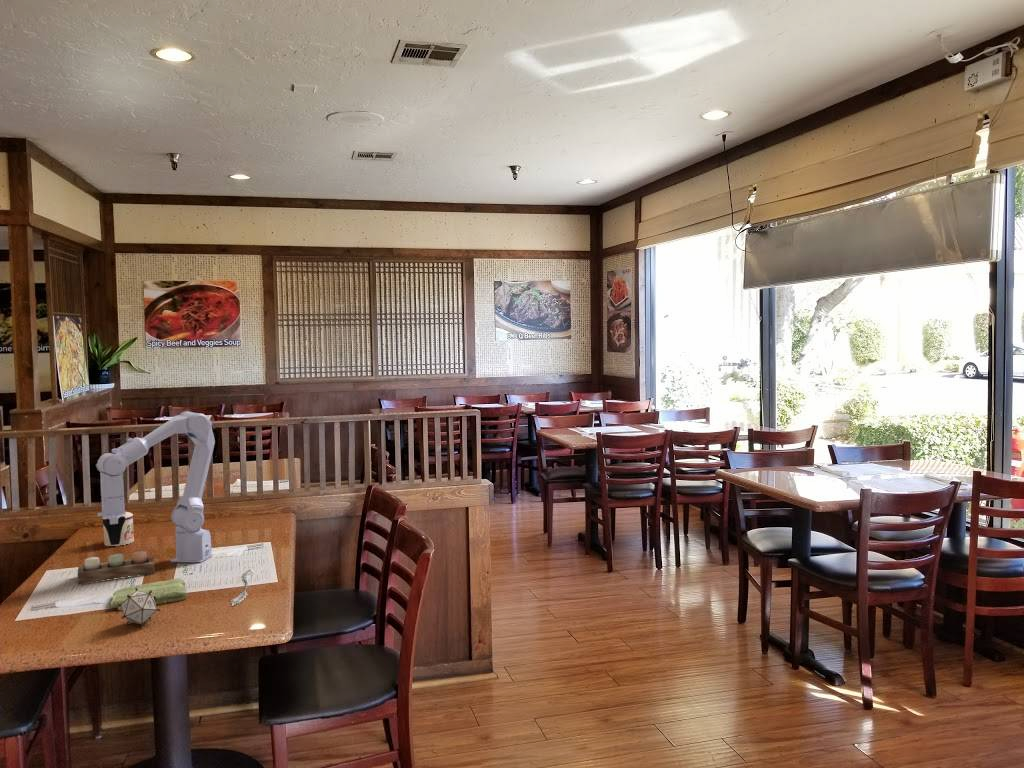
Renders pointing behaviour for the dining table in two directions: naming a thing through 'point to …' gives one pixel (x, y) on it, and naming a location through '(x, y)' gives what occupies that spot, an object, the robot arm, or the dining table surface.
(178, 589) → the washcloth
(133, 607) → the game die
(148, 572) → the button panel
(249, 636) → the dining table surface
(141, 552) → the terracotta button
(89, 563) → the cream button
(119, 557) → the sage button
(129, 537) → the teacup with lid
